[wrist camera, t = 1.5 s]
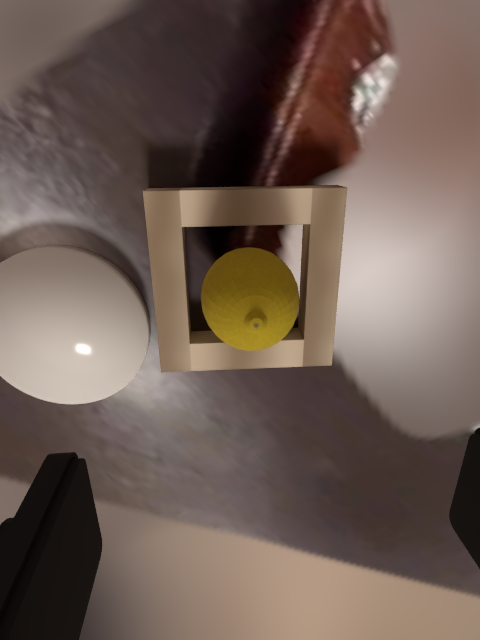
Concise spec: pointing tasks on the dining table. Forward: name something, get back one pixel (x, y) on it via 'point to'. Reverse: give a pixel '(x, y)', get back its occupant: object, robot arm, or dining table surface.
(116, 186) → the dining table surface
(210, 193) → the frame
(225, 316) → the lemon
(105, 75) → the dining table surface
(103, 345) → the saucer
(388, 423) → the dining table surface
